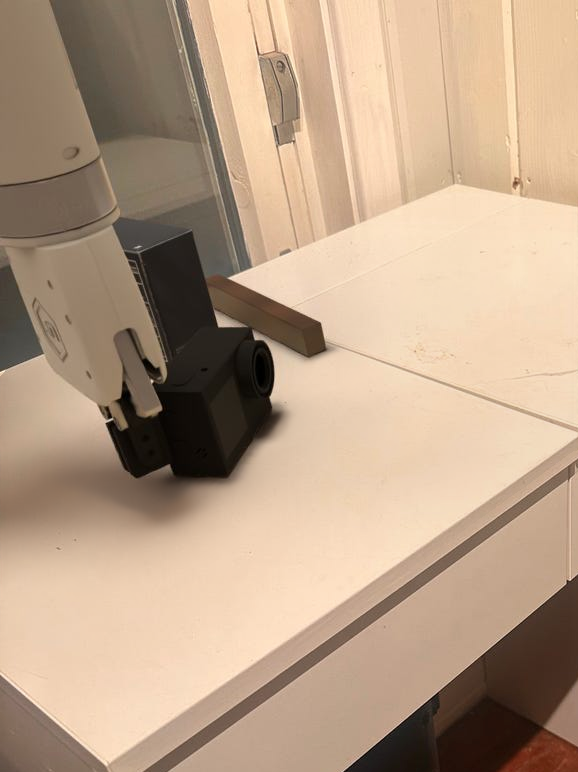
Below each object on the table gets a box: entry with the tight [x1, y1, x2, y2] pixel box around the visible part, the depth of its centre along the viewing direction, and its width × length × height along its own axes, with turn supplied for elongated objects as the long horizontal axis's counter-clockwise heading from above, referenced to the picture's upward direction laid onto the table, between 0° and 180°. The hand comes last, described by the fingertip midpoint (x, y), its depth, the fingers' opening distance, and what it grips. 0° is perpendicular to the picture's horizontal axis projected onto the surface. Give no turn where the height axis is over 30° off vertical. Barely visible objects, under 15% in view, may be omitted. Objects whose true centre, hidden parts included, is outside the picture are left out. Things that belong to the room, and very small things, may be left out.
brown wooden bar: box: [205, 273, 327, 358], centre depth 85 cm, size 18×2×2 cm, turn 42°
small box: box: [112, 216, 219, 366], centre depth 81 cm, size 11×6×10 cm, turn 56°
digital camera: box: [151, 326, 276, 478], centre depth 68 cm, size 10×5×7 cm, turn 170°
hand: (149, 466), depth 66 cm, fingers closed
